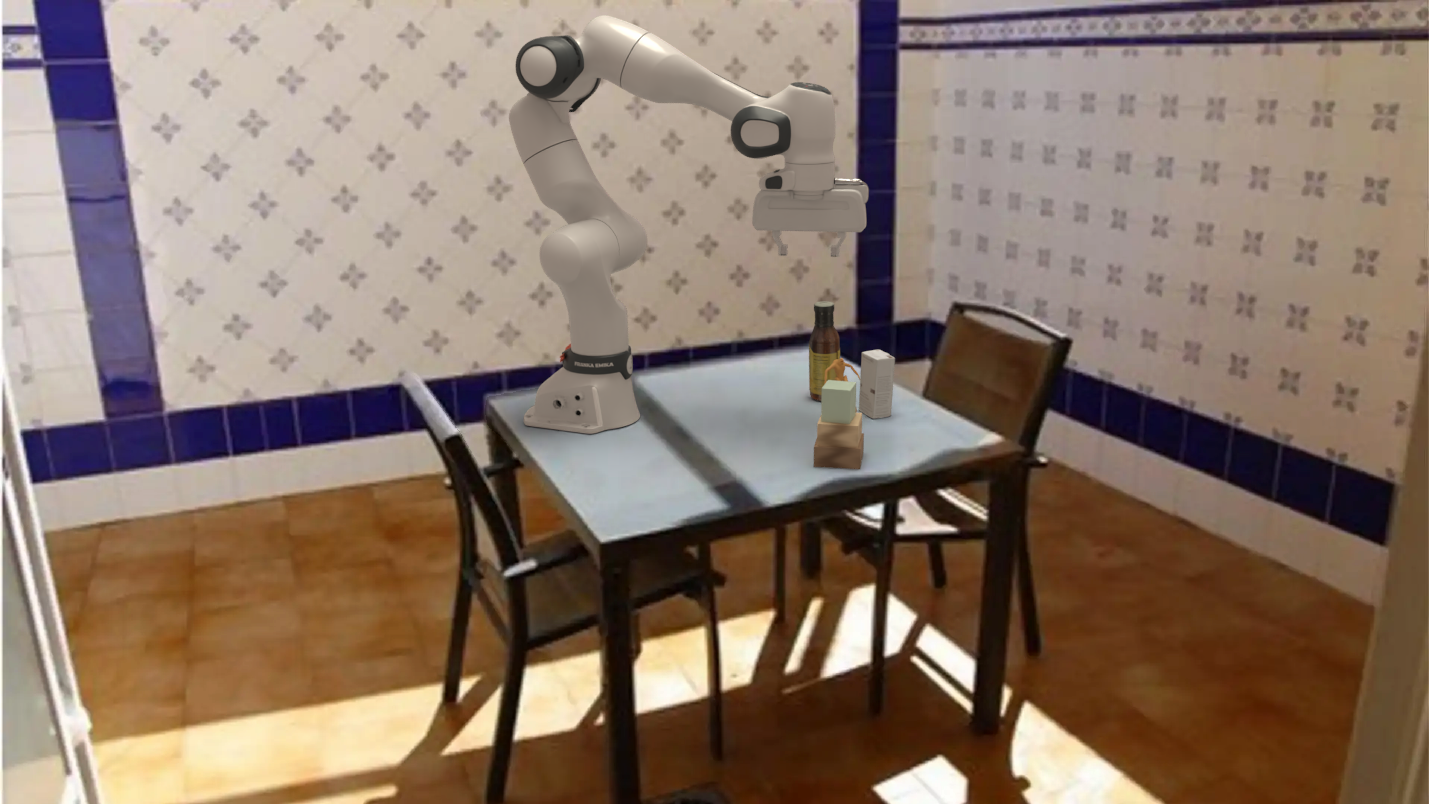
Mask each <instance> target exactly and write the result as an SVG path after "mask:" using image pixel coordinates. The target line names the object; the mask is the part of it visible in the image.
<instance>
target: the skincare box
mask: <svg viewBox="0 0 1429 804" xmlns="http://www.w3.org/2000/svg"><path fill="white" fill-rule="evenodd" d="M860 359H861V363H860V375H859V377H860V380H859V395H858V397H859V398H858V410H859V411H860V413H862V414H864V415H866V416H867V417H869V418H870V419H883V418H887V417H891V416H892V405H893V394H894V393H893V392H894V391H893V390H894V377H895V363H896V358H895V357H894V356H892V355H890V353H888V352H885V351H883V350H881V349H873V350H866V351H862V352H861V358H860Z"/></svg>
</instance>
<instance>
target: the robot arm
mask: <svg viewBox="0 0 1429 804" xmlns="http://www.w3.org/2000/svg"><path fill="white" fill-rule="evenodd" d="M515 73H516V77H517V79H518V81H519V83H520V84H521V86H522V88H523V89H525V90H526V91H527V92H528V93H527V94H526V95H525V96H524V97H521V98H520V99H518V100H517V101H516V102H515V103H514V104H513V105H512V107H511V109H510V110H509V113H508V121H509V127H510V131H511V133H512V138H513V140H514V143H515V146H516V150H517V152H518V155H519V157H520V159H521V161H522V163H523V166H524V168H525V170H526V172H527V175H528V177H529V179H530V181H531V183H532V186H533V187H534V189H535V192H536V194H537V197H538V198H539V201H540V202H541V203H542V204H543V205H544V206H545V207H547V208H549V209H550V210H552V211H554V212H555V213H557V214H558V215H559V216H561V218H562V219H563V220H564V221H565V222H566V224H565V225H563V226H561V227H560V228H558V229H556V230H555V231H553V232H552V233H550V234H549V235H547V236H546V237H545V238H544V239H543V241H542V243H541V244H540V248H539V263H540V266H541V268H542V270H543V272H544V273H545V275H546V277H548V278H549V280H551V281H552V282H553V283H555V285H557V287H558V288H559V290H560V292H561V295H562V297H563V300H564V301H565V306H566V310H567V313H568V324H569V325H568V326H569V337H570V343H569V344H568V345H567V346H566V347H565V349H564V351H562V352H561V355H559V363H562V367H561V368H559V369H558V370H557V371H556V372H554V373H553V374H552V375H550V377H548V378H547V379H546V380H544V381H543V383H541V384H540V386H539V387H538V389H537V391H536V394H535V398H534V404H533V405H532V406H531V407H530V408H528V409H527V410H526V412H525V413H524V415H523V424H524V425H525V426H528V427H535V428H542V429H549V430H556V431H558V430H559V431H566V432H572V433H579V434H580V433H581V434H589V435H591V434H593V435H594V434H596V433H600V432H603V431H606V430H612V429H613V430H614V429H618V428H622V427H625V426H629V425H632V424H633V423H636V422H637V421H638V420H639V419H640V418H641V414H640V411H639V408H638V404H637V402H636V398H635V393H634V392H635V391H634V387H633V380H632V375H633V370H634V369H633V365H634V364H633V355H632V348H631V346H630V344H629V343H630V341H629V322H628V321H629V320H628V319H629V318H628V317H629V315H628V309H627V306H626V305H625V303H624V302H623V301H621V300H620V299H618V298H617V297H616V295H615V291H614V289H613V285H612V282H611V275H612V274H615V273H618V272H621V271H624V270H626V269H628V268H630V267H631V266H632V265H633V264H636V262H638V261H639V260H640V259H641V258H642V257H643V256H644V254H645V253H646V250H647V247H648V236H647V235H648V234H647V231H646V228H645V227H644V225H643V224H642V222H641V221H640V220H639V219H638V218H637V217H635V216H634V215H631V214H629V213H628V212H626V211H625V210H623V209H622V208H621V206H620V205H619V204H618V203H617V202H615V201H614V199H613V198H612V196H610V194H609V193H608V192H607V190H606V189H605V188H604V186H603V185H602V184H601V182H600V181H599V180H598V178H597V177H596V175H595V173H594V171H593V168H592V167H591V164H590V162H589V161H588V159H587V157H586V155H585V153H584V150H583V148H582V147H581V144H580V142H579V139H578V138H577V136H576V133H575V131H574V128H573V126H572V125H571V122H570V117H569V116H570V115H569V113H574V112H576V111H578V109H579V108H580V107H581V106H582V105H583V104H584V103H585V102H586V101H587V100H588V99H589V98H590V97H591V96H593V95H594V93H595V92H596V91H597V90H598V89H599V87H600V84H601V80H605V81H608V82H610V83H612V84H614V85H615V86H617V87H619V88H621V89H622V90H624V91H626V92H628V93H629V94H632V95H633V96H635V97H638V98H640V99H642V100H647V101H648V102H649V101H650V102H653V103H656V104H687V105H695V106H698V107H702V108H704V109H707V110H709V111H711V112H713V113H715V114H717V115H718V116H721V117H723V118H725V119H727V120H729V121H731V124H730V137H731V141H732V144H733V145H734V148H735V149H736V150H737V151H738V152H739V153H740V154H741V155H743V156H744V157H747V158H749V159H756V160H762V159H767V158H771V157H774V156H777V155H778V156H783V158H784V167H783V168H779V169H776V170H773V171H770V172H767V173H765V174H764V175H762V176H761V177H760V178H759V180H758V186H759V187H758V188H759V189H760V190H759V191H758V192H757V193H756V195H755V198H754V203H753V208H752V209H753V210H752V216H751V217H752V220H751V221H752V226H753V228H754V229H755V230H756V231H765V232H766V231H767V232H768V231H770V232H771V233H772V234H771V237H772V238H773V239H772V240H773V241H774V243H775V244H776V246H777V247H778V248H777V249H778V250H777V253H778V254H777V255H778V256H779V257H780V256H783V257H784V256H785V257H786V256H788V253H789V251H788V244H784V243H783V240H781V235H782V232H818V233H819V232H823V233H824V232H827V233H829V232H831V233H832V232H833V233H837V234H836V235H837V236H836V237H837V238H838V239H839V240H838V242H837V243H836V244H835V245H831V247H830V257H832V258H836V257H837V258H839V257H840V256H841V250H840V249H841V246H842V245H843V243H844V241H845V239H846V237H847V233H862V232H863V231H864V229H866V227H867V208H866V204H867V202H868V201H869V197H870V196H869V192H870V188H869V186H868V184H867V183H866V182H864V181H862V180H861V179H860V178H845V177H844V178H841V177H840V178H839V177H836V176H835V175H836V170H835V169H836V157H835V153H834V142H835V138H836V111H835V108H836V107H835V102H834V96H833V95H832V92H831V91H830V90H829V89H828V88H827V87H825V86H822V85H820V84H815V83H811V82H802V81H797V82H791V83H789V84H788V86H787V87H784V89H783V90H781V91H779V92H777V93H776V94H774V95H772V96H766V95H761V94H758V93H756V92H753V91H751V90H749V89H747V88H745V87H743V86H741V85H739V84H738V83H735V82H733V81H732V80H729V79H727V78H725V77H723V76H721V75H719V74H717V73H715V72H713V71H711V70H709V69H708V68H706V67H705V66H703V65H702V64H700V63H699V62H697V61H696V60H695V59H693V58H691V57H690V56H689V55H686V54H685V53H683V52H682V51H681V50H679V49H678V48H677V47H675V46H674V45H672V44H670V43H669V42H667V41H666V40H664V39H662V38H661V37H659V36H658V35H656V34H655V33H653V32H651V31H649V30H647V29H644V28H643V27H641V26H639V25H636V24H634V23H632V22H629V21H626V20H624V19H621V18H618V17H615V16H611V15H608V14H607V15H606V14H601V15H598V16H596V17H594V18H592V20H590V21H589V22H588V23H587V24H586V26H585V27H584V29H583V31H582V33H581V34H580V35H579V37H577V38H575V39H574V37H573V36H571V35H567V34H566V35H551V36H550V35H548V36H542V37H541V36H540V37H537V38H534V39H531V40H529V41H528V42H526V43H525V44H524V45H523V46H522V47H521V48H520V50H519V51H518V53H517V55H516V59H515Z"/></svg>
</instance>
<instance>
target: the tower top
mask: <svg viewBox="0 0 1429 804" xmlns="http://www.w3.org/2000/svg"><path fill="white" fill-rule="evenodd" d="M816 429H817V430H816V439H817V446H831V447H848V448H858V445H859V442H860V439H861V435H862V433H863V412H856V415H855V417H854V418H853V420H852V421H851V423H850V424H844V423H833V422H822V421H821V415H820V417H819V418H818V421H817V423H816Z"/></svg>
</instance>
